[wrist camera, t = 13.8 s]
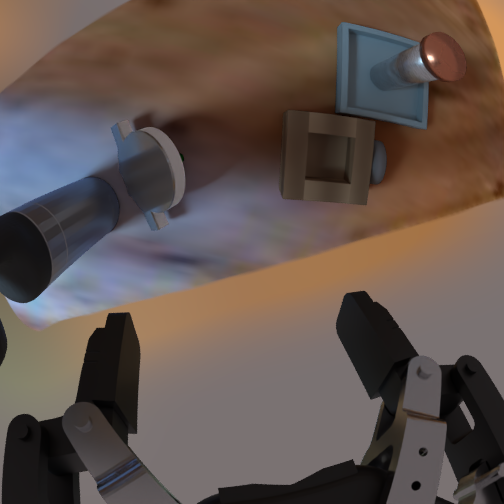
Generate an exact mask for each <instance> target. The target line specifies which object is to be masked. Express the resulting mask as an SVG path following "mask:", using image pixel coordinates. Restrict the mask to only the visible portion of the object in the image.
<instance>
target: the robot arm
mask: <svg viewBox="0 0 504 504" xmlns="http://www.w3.org/2000/svg"><path fill="white" fill-rule="evenodd" d="M118 216H119V204H118V199H117V197H116V194H115V192H114V191H113V189H112V188H111V187H110V186H109V184H108V183H106V182H105V181H103V180H101V179H99V178H95V177H87V178H84V179H82V180H79V181H76V182H74V183H71V184H69V185H66V186H64V187H61V188H59V189H57V190H54V191H52V192H50V193H47V194H45V195H43V196H41V197H38V198H36V199H34V200H32V201H30V202H28V203H25V204H24V205H22V206H20V207H17V208H15V209H13V210H11V211H9V212H8V213H6V214H4V215H2V216H0V292H1V293H2V294H3V295H4V296H6V297H7V298H9V299H10V300H12V301H15V302H18V303H28V302H30V301H32V300H34V299H35V298H37V297H38V296H39V295H40V294H41V293H42V292H43V291H44V290H45V289H46V288H47V287H48V286H49V285H50V284H51V283H52V282H53V281H55V280H56V279H57V278H58V277H59V276H60V275H61V274H62V273H63V272H64V271H65V270H66V269H67V268H68V267H69V266H71V265H72V264H73V263H74V262H75V261H76V260H77V259H78V258H80V257H81V256H82V255H83V254H84V253H85V252H86V251H88V250H89V249H90V248H91V247H92V246H93V245H95V244H96V243H97V242H98V241H99V240H101V239H102V238H103V237H104V236H105V235H106V234H108V233H109V232H110V231H111V230H112V229H113V228H114V226H115V225H116V223H117V220H118ZM336 329H337V334H338V336H339V338H340V340H341V342H342V344H343V346H344V348H345V350H346V352H347V354H348V355H349V357H350V359H351V361H352V363H353V365H354V367H355V369H356V371H357V373H358V375H359V377H360V379H361V381H362V383H363V385H364V387H365V389H366V391H367V393H368V395H369V397H370V399H374V398H377V397H380V396H381V397H382V399H383V402H382V403H381V406H380V410H379V415H378V419H377V422H376V426H375V430H374V434H373V437H372V441H371V444H370V446H369V448H368V450H367V451H366V453H365V455H364V457H363V459H362V462H361V464H360V465H355V463H354V461H353V459H352V460H349V461H346V462H343V463H340V464H337V465H334V466H330V467H327V468H323V469H321V470H319V471H318V472H316V473H314V474H312V475H310V476H308V477H306V478H305V479H303V480H301V481H299V482H297V483H295V484H292V485H267V484H265V485H264V484H249V485H242V486H234V487H226V488H218V490H219V493H218V494H215V495H213V496H210V497H208V498H206V499H204V500H202V501H200V502H199V503H197V504H454V503H452V502H449V501H447V500H444V499H442V498H440V497H438V496H436V495H437V490H438V485H439V480H440V475H441V469H442V463H443V456H444V450H445V452H446V455H447V457H448V459H449V462H450V464H451V466H452V469H453V471H454V474H455V476H456V478H457V481H458V486H457V489H456V490H455V491H454V493H453V497H454V499H455V500H458V504H504V400H503V398H502V397H501V395H500V393H499V392H498V390H497V388H496V387H495V385H494V383H493V382H492V380H491V378H490V377H489V375H488V374H487V373H486V371H485V369H484V368H483V366H482V365H481V363H480V362H479V361H478V360H477V359H476V358H474V357H472V356H469V355H464V356H461V357H460V358H459V359H458V360H457V362H456V363H455V365H438V364H437V363H436V362H435V361H434V360H433V359H431V358H429V357H426V356H419V355H418V353H417V352H416V350H415V349H414V347H413V346H412V345H411V343H410V342H409V340H408V339H407V337H406V336H405V334H404V333H403V331H402V330H401V329H400V328H399V326H398V324H397V323H396V322H395V321H394V320H393V317H392V316H391V315H390V314H389V312H388V310H387V309H386V308H384V307H383V306H382V305H380V304H379V303H378V302H373V301H372V299H371V298H370V296H369V295H368V294H367V292H365V291H359V292H352V293H347V294H346V295H345V296H344V298H343V302H342V305H341V308H340V312H339V315H338V318H337V322H336ZM6 350H7V338H6V334H5V330H4V327H3V325H2V322H1V320H0V366H1V364H2V362H3V360H4V358H5V354H6ZM139 368H140V345H139V340H138V338H137V334H136V331H135V328H134V325H133V321H132V318H131V315H130V313H129V312H127V313H109V314H108V317H107V320H106V325H105V328H96V330H95V331H94V333H93V334H92V335H91V336H90V338H89V340H88V345H87V349H86V353H85V357H84V363H83V367H82V371H81V376H80V381H79V386H78V392H77V397H76V401H75V404H73V405H71V406H70V407H69V408H68V409H67V410H66V411H65V413H64V415H63V416H61V417H58V418H54V419H49V420H44V421H40V422H38V421H37V420H36V419H35V418H34V417H33V416H31V415H28V414H21V415H18V416H16V417H15V418H14V419H13V420H12V421H11V423H10V424H9V427H8V432H7V438H6V445H5V454H4V464H3V478H2V504H80V489H79V488H80V487H79V472H83V471H89V472H90V474H91V475H92V477H93V478H94V480H95V481H96V483H97V489H98V491H99V493H100V495H101V496H102V498H103V499H104V500H105V501H106V503H107V504H182V503H181V502H180V501H179V500H178V499H176V498H175V497H174V496H173V495H172V494H171V493H170V492H169V491H168V490H167V489H166V488H165V487H164V486H163V485H162V484H161V483H160V482H159V481H158V480H157V478H156V477H155V476H154V475H153V474H152V473H151V472H150V471H149V470H148V468H147V467H146V466H145V465H144V464H143V463H142V462H141V460H140V459H139V458H138V457H137V456H136V454H135V453H134V452H133V451H132V450H131V448H130V447H129V446H128V433H130V434H137V409H138V385H139ZM462 401H464V402H465V404H466V406H467V408H468V410H469V411H470V413H471V415H472V417H473V419H474V422H475V426H474V429H473V430H472V429H471V427H470V425H469V423H468V421H467V419H466V417H465V415H464V414H463V411H462V410H461V408H460V406H459V405H460V404H461V402H462Z"/></svg>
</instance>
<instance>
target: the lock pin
mask: <svg viewBox="0 0 504 504" xmlns="http://www.w3.org/2000/svg"><path fill="white" fill-rule="evenodd" d="M466 68H467V64H466V58H465V55H464V53H463V51H462V49H461V47H460V46H459V44H458V43H457V42H456V41H455V40H454V39H453V38H452V37H450V36H449V35H447V34H445V33H442V32H435V33H432V34H430V35H427V36H425V37H424V38H423V39H422V40H421V42H420V44H417V45H415V46H413V47H411V48H409V49H406V50H404V51H402V52H400V53H398V54H396V55H394V56H392V57H389V58H387V59H385V60H383V61H381V62H379V63H377V64H375V65H374V66H373V67H372V68H371V70H370V78H371V81H372V83H373V84H374V85H375V86H376V87H377V88H378V89H380V90H383V91H390V90H394V89H398V88H402V87H406V86H410V85H415V84H419V83H424V82H429V81H434V80H440V81H443V82H452V81H458V80H460V79H462V78H463V77H464V75H465V73H466Z"/></svg>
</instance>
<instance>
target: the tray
mask: <svg viewBox="0 0 504 504" xmlns="http://www.w3.org/2000/svg"><path fill="white" fill-rule="evenodd" d="M417 44H420V43H418V42H416V41H413V40H410V39H407V38H404V37H400V36H397V35H394V34H390V33H387V32H383V31H380V30H376V29H372V28H368V27H364V26H359V25H355V24H350V23H345V22H342V23H341V24H340V25H339V26H338V27H337V83H336V105H335V113H338V114H345V115H352V116H358V117H364V118H370V119H375V120H380V121H385V122H390V123H395V124H399V125H404V126H408V127H412V128H417V129H426V130H427V114H428V86H429V82H424V83H419V84H415V85H410V86H406V87H402V88H398V89H394V90H390V91H383V90H380V89H378V88H377V87H376V86H375V85H374V84H373V83H372V81H371V78H370V70H371V68H372V67H373V66H374V65H375V64H377V63H379V62H381V61H383V60H385V59H387V58H389V57H392V56H394V55H396V54H398V53H400V52H402V51H404V50H406V49H409V48H411V47H413V46H415V45H417Z"/></svg>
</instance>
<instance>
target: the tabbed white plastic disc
mask: <svg viewBox="0 0 504 504" xmlns="http://www.w3.org/2000/svg"><path fill="white" fill-rule="evenodd" d="M111 130H112V133H113V136H114V139H115V142H116V145H117V147H118V159H119V165H120V166H119V171H120V174H121V175H122V176H123V179H124V182H125V184H126V187H127V191H128V194H129V195H130V196H131V197H132V198H133V199H134V201H135V202H136V204H137V205H138V206H139V208H140V209H141V210H142V211H143V213H144V215H145V218H146V220H147V222H148V224H149V227H150V229H151V231H155V230H160V229H161V228H163V227H164V226H166V225H168V224H169V223H168V221H167V219H166V216H165V214H164V211H166V210H168V209H170V208H171V207H173V206H175V205H177V204H178V203H179V202H180V201H181V199H182V197H183V195H184V191H185V171H184V166H183V163H182V162H183V161H184V157H183V155H182V154H181V153H179V152H178V150H177V148H176V147H175V145H174V144H173V142H172V141H171V139H170V138H169V137H168V136H167V135H166V134H165V133H163V132H162V131H161V130H159V129H157V128H154V127H146V128H143V129H140V130H137V131H134V132H132V129H131V126H130V123H129V120H125V121H122V122H119V123H116V124H115V125H114V126H113V127H111Z"/></svg>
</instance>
